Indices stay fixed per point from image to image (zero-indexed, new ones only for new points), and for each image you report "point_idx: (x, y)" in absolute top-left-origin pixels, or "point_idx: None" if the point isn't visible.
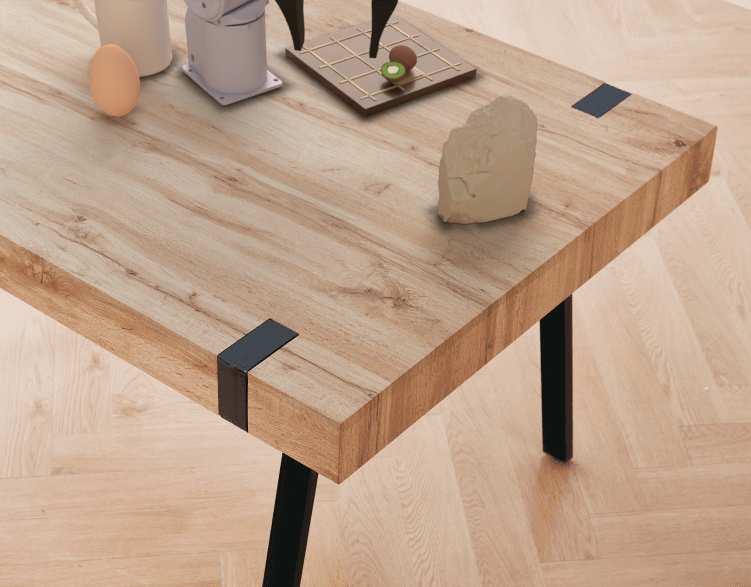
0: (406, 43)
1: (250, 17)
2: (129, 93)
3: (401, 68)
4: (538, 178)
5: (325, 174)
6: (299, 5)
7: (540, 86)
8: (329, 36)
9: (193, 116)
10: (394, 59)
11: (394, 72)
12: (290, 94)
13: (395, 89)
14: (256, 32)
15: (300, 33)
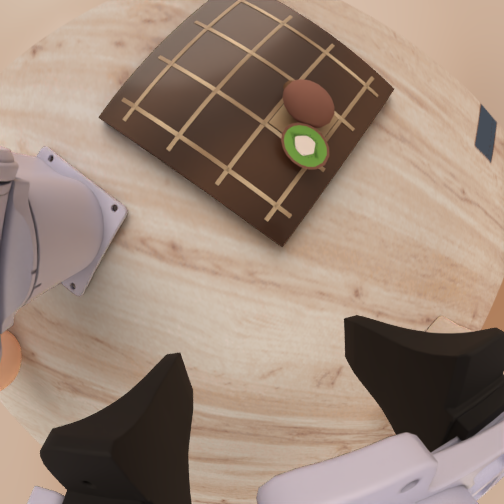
0: (283, 37)
1: (27, 285)
2: (14, 374)
3: (320, 143)
4: (462, 288)
5: (267, 381)
6: (175, 462)
7: (447, 106)
8: (156, 55)
9: (66, 324)
10: (301, 119)
11: (309, 152)
12: (147, 224)
13: (310, 172)
14: (52, 264)
15: (186, 411)
